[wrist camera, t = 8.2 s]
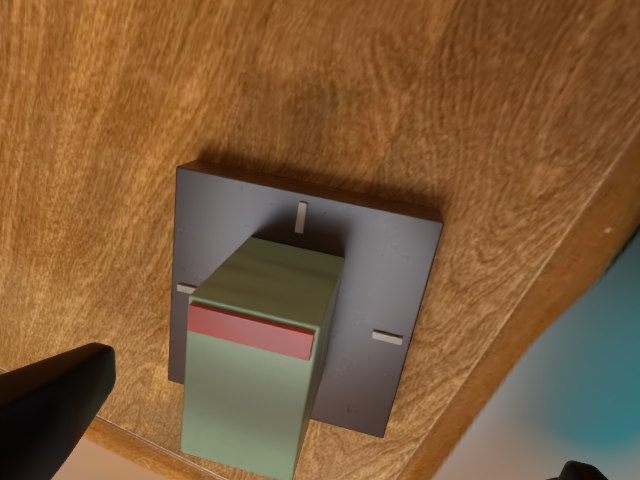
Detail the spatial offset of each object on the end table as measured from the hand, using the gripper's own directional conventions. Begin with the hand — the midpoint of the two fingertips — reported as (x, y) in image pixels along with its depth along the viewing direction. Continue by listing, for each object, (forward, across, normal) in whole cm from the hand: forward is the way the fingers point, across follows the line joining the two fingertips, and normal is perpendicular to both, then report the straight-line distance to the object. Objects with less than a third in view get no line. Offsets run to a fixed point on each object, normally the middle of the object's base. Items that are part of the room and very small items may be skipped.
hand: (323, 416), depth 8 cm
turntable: (+13, +3, +5) cm, 14 cm away
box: (+11, +3, +5) cm, 12 cm away
